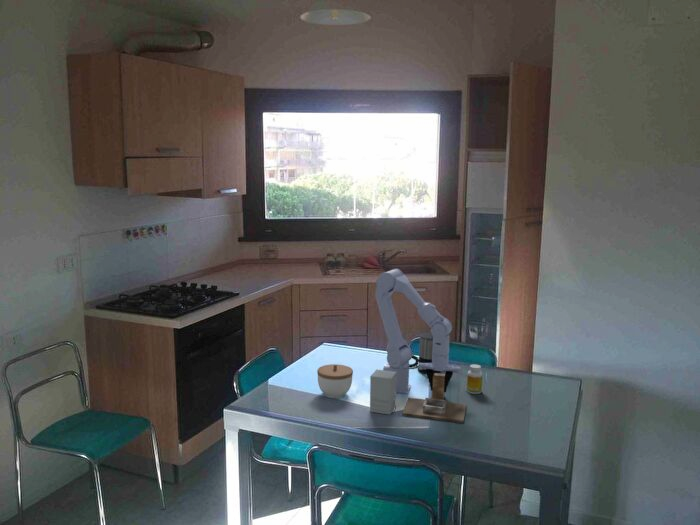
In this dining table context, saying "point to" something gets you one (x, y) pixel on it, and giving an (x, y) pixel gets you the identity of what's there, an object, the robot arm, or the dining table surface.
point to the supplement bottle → (474, 379)
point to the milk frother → (424, 351)
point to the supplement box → (383, 391)
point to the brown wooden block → (438, 386)
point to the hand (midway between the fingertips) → (438, 390)
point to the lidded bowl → (334, 380)
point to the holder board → (434, 409)
